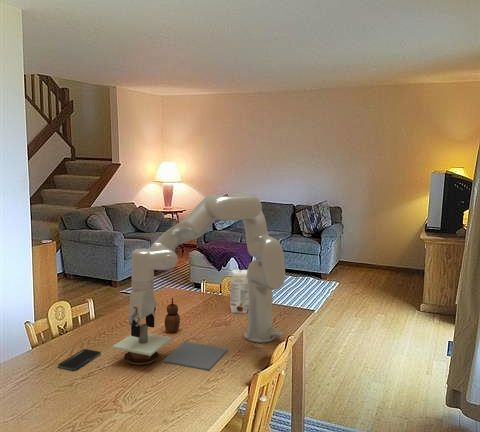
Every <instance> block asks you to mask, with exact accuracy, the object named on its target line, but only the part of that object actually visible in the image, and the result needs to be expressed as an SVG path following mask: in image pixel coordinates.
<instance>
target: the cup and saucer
mask: <svg viewBox="0 0 480 432" xmlns="http://www.w3.org/2000/svg"><path fill="white" fill-rule="evenodd" d="M123 358H124V360H125V362H127V363H128V364H131V365H134V366H135V365H136V366H145V365H149V364H152V363H153V362H155V361H157V359H158V358H159V352H158V351H156V352H155V353H154V354H152V355H151V356H149V355H144V354H138V353H133V352H128V351H126V353H125V354H124V355H123Z"/></svg>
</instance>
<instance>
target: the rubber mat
mask: <svg viewBox="0 0 480 432" xmlns="http://www.w3.org/2000/svg"><path fill="white" fill-rule="evenodd" d="M228 351H229V348H226V347H225V348H224V347H219V346H214V345H213V346H212V345H208V344H203V343H202V344H201V343H196V342H191V341H183V342H182V343H181V344H180V345H179V346H178V347H176V348H175V349H174V350H173V351H172V352H170V353H169V354H167V356H166V357H164V358H163V359H162V361H161V362H162V363H167V364H171V365H177V366H181V367H187V368H193V369H196V370H197V369H198V370H203V371H208V372H209V371H211V370H212V368H214V367H215V365H217V363H218V362H219V361H220V360H221V359H222V358H223V356H225V354H227V352H228Z"/></svg>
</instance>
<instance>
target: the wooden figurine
mask: <svg viewBox="0 0 480 432" xmlns="http://www.w3.org/2000/svg"><path fill="white" fill-rule="evenodd" d="M166 312H167V314H166V315H165V318H164V328H165V330H166V332H168V333H176V332H177V331H178V330H179V328H180V324H181V316H180V314H179V313H178V312H179V306H178V305H177V304H175V303H174V297H173V296H172V297H171V303H170V304H168V305H167V307H166Z"/></svg>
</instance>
